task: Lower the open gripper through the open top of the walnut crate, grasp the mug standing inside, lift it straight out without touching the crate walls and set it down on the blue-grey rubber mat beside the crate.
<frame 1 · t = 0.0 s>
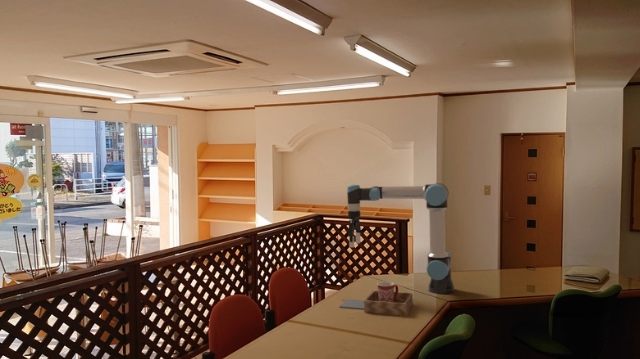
hand: (355, 245, 290), 28 cm above the table, fingers open, 13 cm apart
mat: (355, 304, 263), on the table
mug: (389, 308, 256), resting in crate
crate: (389, 307, 256), on the table
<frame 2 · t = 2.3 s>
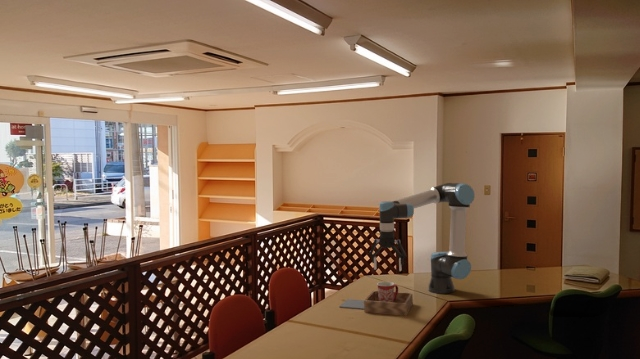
hand: (387, 270, 255), 21 cm above the table, fingers open, 13 cm apart
nothing on the table moved.
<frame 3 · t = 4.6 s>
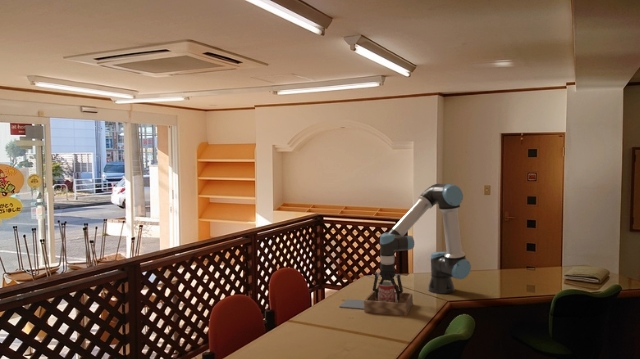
hand: (387, 304, 256), 2 cm above the table, fingers closed on mug, 9 cm apart
mug: (389, 308, 256), resting in crate, touching gripper
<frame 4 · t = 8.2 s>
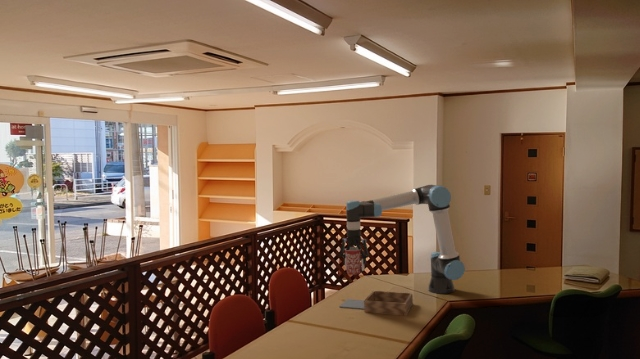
hand: (354, 269, 262), 20 cm above the table, fingers closed on mug, 9 cm apart
mug: (356, 273, 262), point 18 cm above the table, touching gripper
when the fingers open (3 cm above the table, at t = 11.6 s): mug drops 1 cm, resting on mat.
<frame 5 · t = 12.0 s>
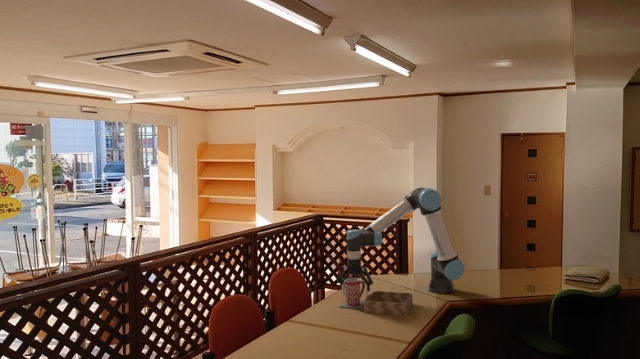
hand: (355, 296, 263), 5 cm above the table, fingers open, 13 cm apart
mug: (355, 303, 263), resting on mat
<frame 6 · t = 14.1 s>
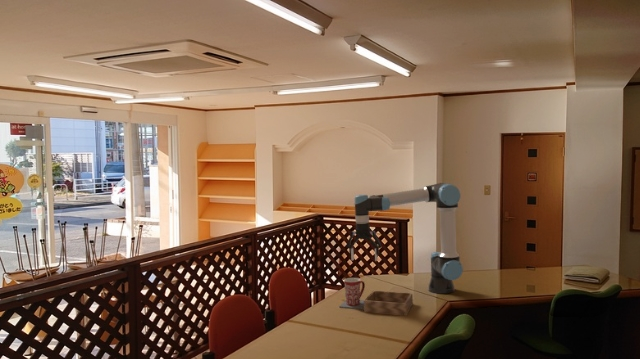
hand: (364, 260, 267), 24 cm above the table, fingers open, 13 cm apart
nothing on the table moved.
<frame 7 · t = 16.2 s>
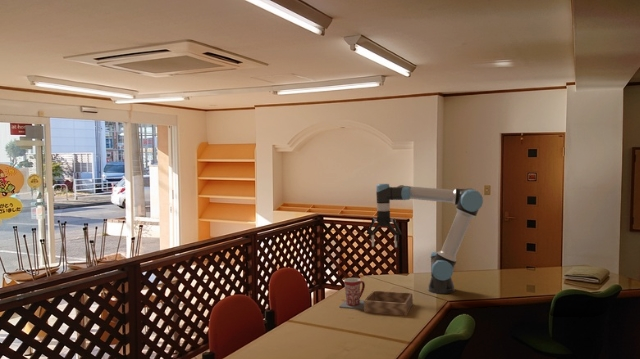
hand: (384, 246, 278), 29 cm above the table, fingers open, 13 cm apart
nothing on the table moved.
at the end: mug inside the target area on the mat (0.3 cm from its centre), point 0.4 cm above the mat's base; mug tilted 0°; the gripper is holding nothing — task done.
